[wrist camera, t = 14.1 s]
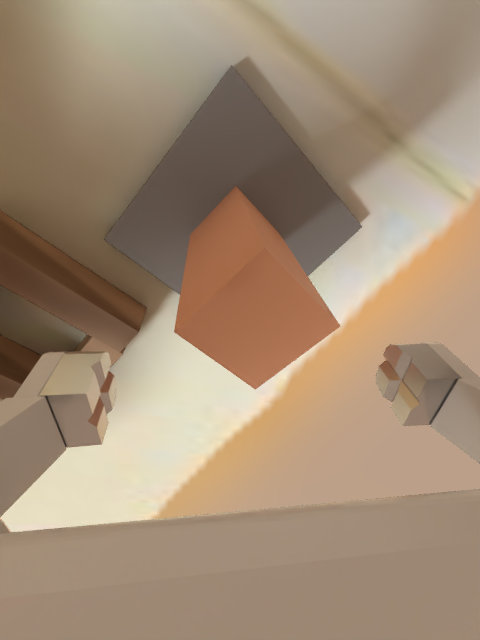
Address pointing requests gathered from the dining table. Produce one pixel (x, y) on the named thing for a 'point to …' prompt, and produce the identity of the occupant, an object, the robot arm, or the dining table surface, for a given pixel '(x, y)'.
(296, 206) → the slate mat
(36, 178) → the dining table surface
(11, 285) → the socket holder
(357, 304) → the dining table surface
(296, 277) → the terracotta peg
